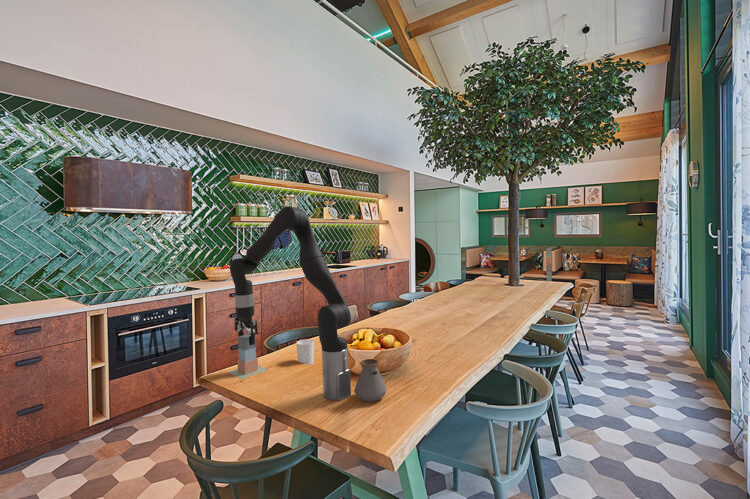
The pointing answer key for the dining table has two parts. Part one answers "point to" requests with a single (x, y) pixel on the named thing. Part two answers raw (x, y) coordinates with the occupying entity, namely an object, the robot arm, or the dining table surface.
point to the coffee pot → (370, 382)
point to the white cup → (305, 351)
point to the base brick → (247, 366)
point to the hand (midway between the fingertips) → (246, 342)
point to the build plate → (242, 376)
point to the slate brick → (244, 342)
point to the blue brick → (247, 354)
